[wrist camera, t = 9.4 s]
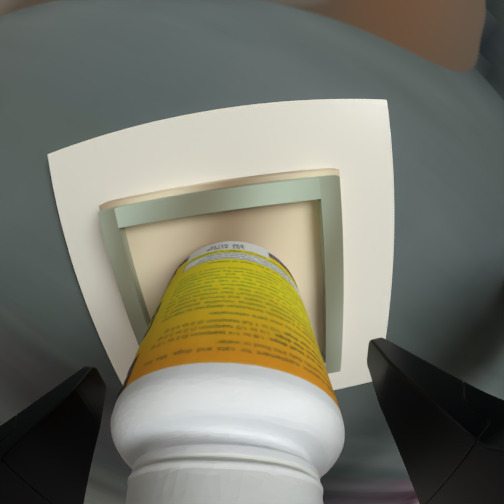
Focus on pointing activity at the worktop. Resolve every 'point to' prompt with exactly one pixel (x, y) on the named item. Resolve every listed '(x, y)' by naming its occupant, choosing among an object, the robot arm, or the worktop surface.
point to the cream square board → (234, 166)
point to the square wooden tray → (234, 229)
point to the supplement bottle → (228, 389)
